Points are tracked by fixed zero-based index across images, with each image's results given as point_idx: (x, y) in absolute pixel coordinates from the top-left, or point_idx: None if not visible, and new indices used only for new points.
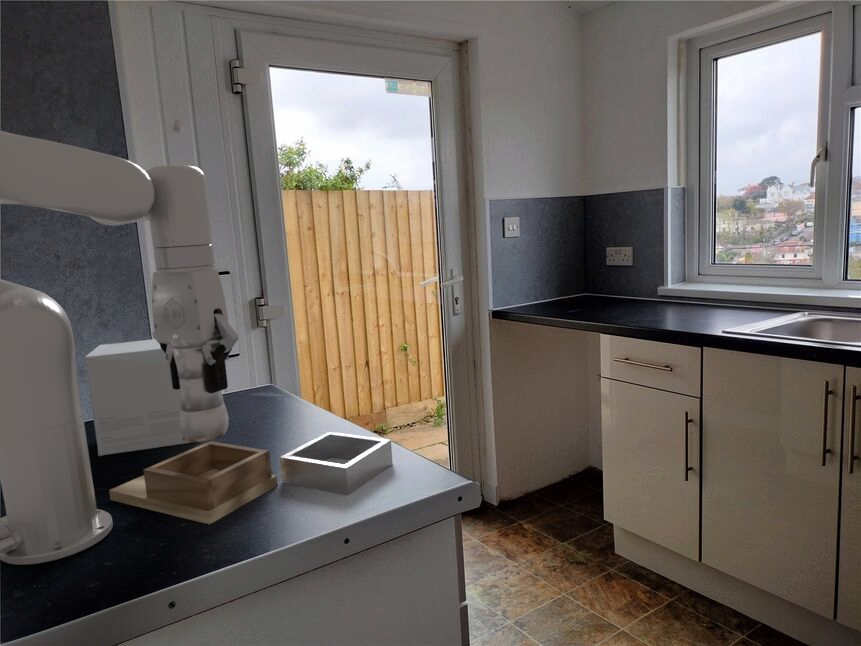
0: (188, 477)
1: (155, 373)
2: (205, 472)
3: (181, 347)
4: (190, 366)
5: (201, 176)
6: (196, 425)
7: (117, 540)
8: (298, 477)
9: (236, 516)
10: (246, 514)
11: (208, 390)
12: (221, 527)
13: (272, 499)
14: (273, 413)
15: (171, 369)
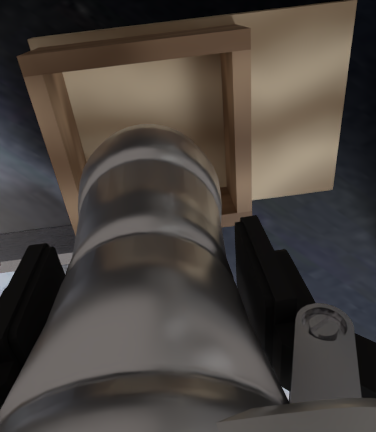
0: (85, 55)
1: None
2: (224, 168)
3: (59, 397)
4: (69, 299)
5: None
6: (100, 150)
7: None
8: (47, 236)
9: (26, 91)
10: (18, 107)
11: (35, 248)
12: (2, 42)
13: (39, 172)
14: None
15: (274, 270)
